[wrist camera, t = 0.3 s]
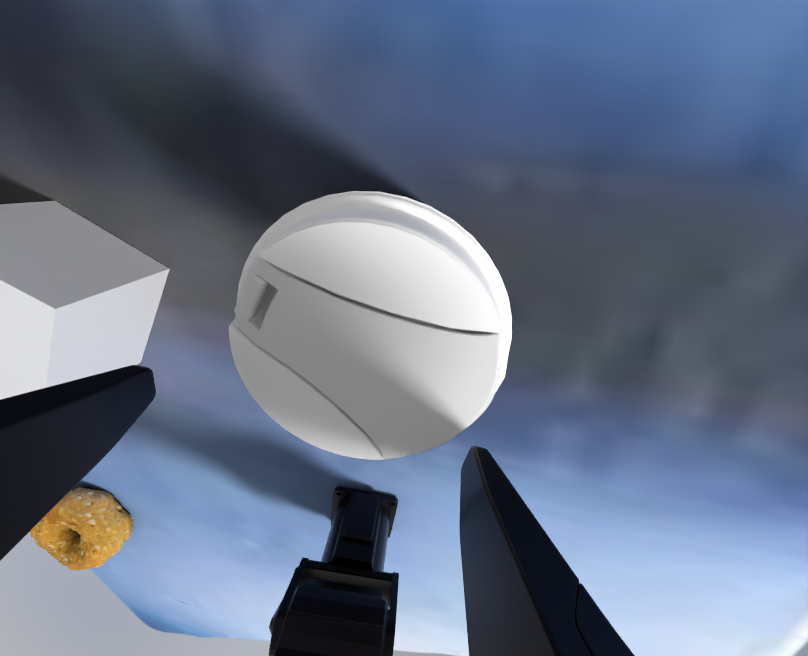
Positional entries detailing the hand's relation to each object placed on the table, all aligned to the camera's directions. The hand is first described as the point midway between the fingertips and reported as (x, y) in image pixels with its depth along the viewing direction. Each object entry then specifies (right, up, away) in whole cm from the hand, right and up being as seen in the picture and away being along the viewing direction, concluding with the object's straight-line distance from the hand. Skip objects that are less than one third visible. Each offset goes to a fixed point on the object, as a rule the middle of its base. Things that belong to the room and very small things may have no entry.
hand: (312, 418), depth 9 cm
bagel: (-35, -19, +29) cm, 49 cm away
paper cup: (+3, +8, +12) cm, 14 cm away
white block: (-20, +5, +15) cm, 26 cm away
